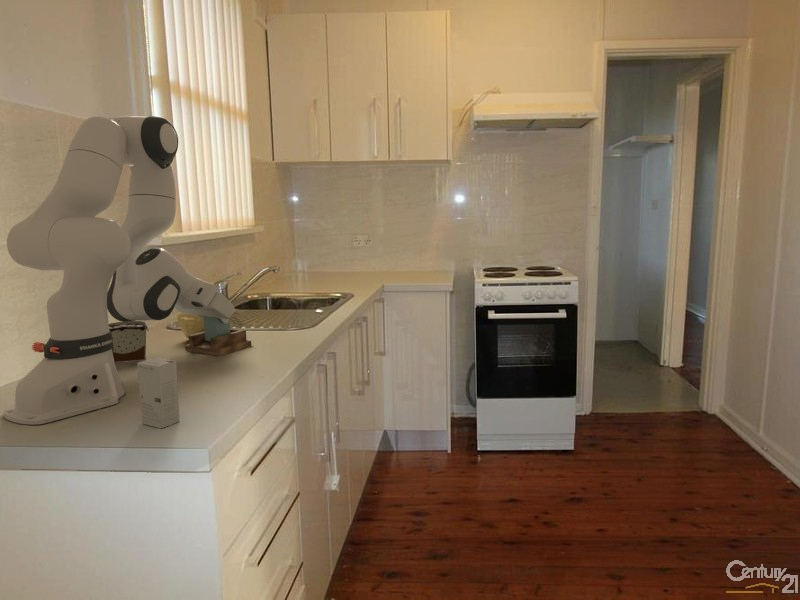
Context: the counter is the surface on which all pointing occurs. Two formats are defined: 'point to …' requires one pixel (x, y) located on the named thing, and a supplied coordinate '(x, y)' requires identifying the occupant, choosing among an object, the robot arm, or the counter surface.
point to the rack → (218, 342)
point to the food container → (129, 340)
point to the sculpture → (190, 324)
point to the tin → (215, 327)
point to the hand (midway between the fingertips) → (218, 320)
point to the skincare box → (158, 392)
